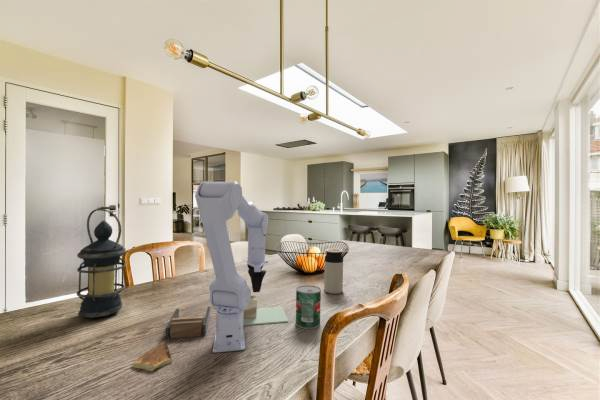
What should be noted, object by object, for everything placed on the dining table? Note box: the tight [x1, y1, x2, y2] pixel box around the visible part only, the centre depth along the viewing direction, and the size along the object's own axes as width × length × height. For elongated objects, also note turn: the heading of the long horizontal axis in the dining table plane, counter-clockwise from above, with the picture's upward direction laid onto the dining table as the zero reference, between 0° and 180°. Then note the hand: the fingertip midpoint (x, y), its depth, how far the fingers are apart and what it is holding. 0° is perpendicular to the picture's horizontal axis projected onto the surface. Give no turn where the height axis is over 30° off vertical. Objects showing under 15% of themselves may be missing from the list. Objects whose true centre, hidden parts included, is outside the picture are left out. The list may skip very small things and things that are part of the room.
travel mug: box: [323, 248, 344, 295], centre depth 120 cm, size 8×8×18 cm
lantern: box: [76, 208, 127, 319], centre depth 91 cm, size 14×13×35 cm
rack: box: [164, 306, 212, 340], centre depth 84 cm, size 14×11×3 cm
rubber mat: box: [243, 306, 289, 327], centre depth 92 cm, size 12×20×1 cm, turn 103°
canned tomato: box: [295, 284, 322, 330], centre depth 87 cm, size 8×8×11 cm
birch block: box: [243, 295, 258, 319], centre depth 91 cm, size 4×8×6 cm, turn 104°
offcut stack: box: [170, 315, 204, 339], centre depth 79 cm, size 4×8×4 cm, turn 103°
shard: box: [131, 339, 173, 372], centre depth 67 cm, size 11×8×2 cm
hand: (255, 288), depth 92 cm, fingers open, 7 cm apart
